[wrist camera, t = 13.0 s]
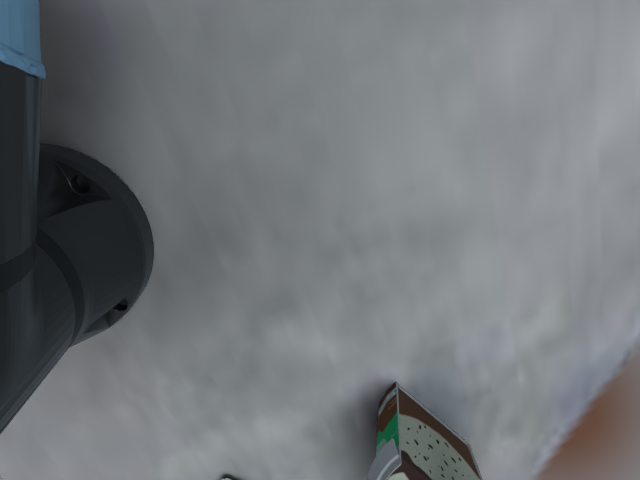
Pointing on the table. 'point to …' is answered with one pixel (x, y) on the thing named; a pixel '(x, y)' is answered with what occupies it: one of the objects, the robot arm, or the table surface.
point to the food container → (417, 443)
